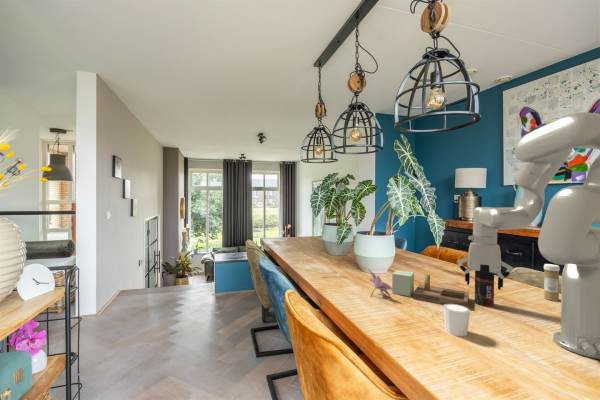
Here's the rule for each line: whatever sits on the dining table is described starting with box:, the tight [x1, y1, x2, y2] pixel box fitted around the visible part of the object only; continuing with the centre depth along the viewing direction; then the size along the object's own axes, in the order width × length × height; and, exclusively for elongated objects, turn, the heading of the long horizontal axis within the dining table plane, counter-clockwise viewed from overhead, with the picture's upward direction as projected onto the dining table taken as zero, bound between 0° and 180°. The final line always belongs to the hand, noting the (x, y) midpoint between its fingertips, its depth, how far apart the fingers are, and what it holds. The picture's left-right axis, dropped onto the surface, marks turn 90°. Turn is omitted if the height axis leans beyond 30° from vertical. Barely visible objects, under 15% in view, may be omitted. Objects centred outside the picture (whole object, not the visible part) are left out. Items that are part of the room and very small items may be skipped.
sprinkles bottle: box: [543, 263, 561, 302], centre depth 109 cm, size 5×5×14 cm
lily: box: [368, 269, 393, 298], centre depth 111 cm, size 12×12×10 cm
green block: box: [391, 269, 415, 297], centre depth 115 cm, size 7×7×8 cm
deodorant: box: [474, 264, 495, 308], centre depth 103 cm, size 6×6×15 cm
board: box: [412, 273, 470, 309], centre depth 109 cm, size 13×18×8 cm
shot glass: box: [442, 304, 471, 337], centre depth 81 cm, size 7×7×7 cm
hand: (483, 286), depth 104 cm, fingers open, 9 cm apart
